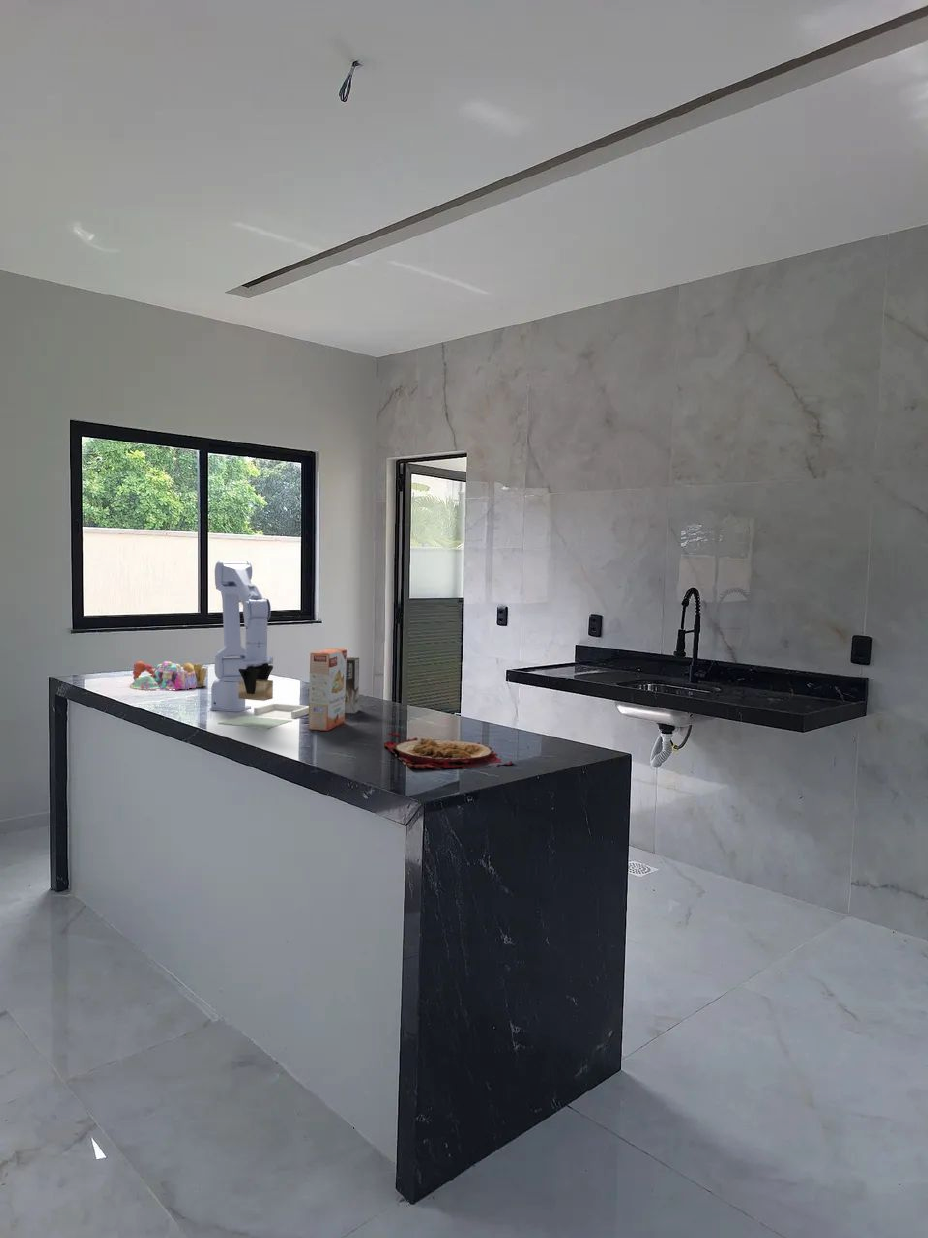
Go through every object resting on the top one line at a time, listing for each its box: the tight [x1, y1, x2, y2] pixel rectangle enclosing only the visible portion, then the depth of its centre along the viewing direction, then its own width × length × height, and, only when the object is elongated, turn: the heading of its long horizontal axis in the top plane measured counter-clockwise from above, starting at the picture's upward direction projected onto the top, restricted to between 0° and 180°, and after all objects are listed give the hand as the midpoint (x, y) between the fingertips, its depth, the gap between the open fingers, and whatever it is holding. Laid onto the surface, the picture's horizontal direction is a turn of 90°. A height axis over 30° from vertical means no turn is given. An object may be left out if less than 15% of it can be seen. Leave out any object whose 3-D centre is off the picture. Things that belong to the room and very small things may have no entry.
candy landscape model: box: [129, 660, 207, 691], centre depth 303 cm, size 25×24×9 cm
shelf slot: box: [253, 702, 309, 720], centre depth 255 cm, size 13×11×2 cm
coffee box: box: [345, 656, 360, 714], centre depth 262 cm, size 9×6×16 cm
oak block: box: [238, 679, 274, 702], centre depth 241 cm, size 4×8×5 cm, turn 71°
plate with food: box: [381, 732, 515, 770], centre depth 207 cm, size 25×26×4 cm
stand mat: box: [217, 715, 293, 730], centre depth 241 cm, size 16×12×1 cm
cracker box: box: [307, 648, 348, 732], centre depth 238 cm, size 14×6×21 cm, turn 168°
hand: (255, 692), depth 241 cm, fingers closed on oak block, 4 cm apart
